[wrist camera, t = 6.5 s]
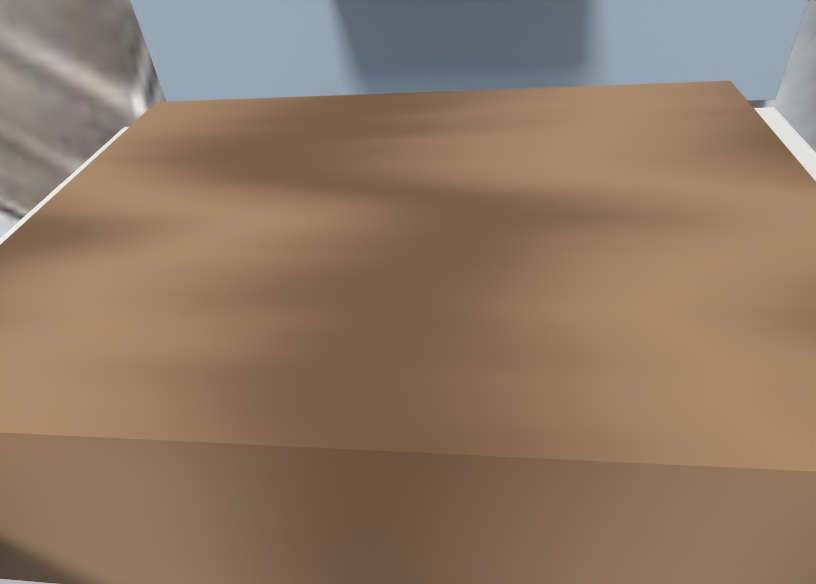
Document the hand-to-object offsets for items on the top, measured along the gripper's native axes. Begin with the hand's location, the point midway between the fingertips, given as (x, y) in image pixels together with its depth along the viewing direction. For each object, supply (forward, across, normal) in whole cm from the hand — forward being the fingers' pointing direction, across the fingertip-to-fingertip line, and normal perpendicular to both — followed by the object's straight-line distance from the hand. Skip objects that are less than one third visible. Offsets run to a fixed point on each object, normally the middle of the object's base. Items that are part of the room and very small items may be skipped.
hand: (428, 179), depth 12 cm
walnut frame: (0, 0, 0) cm, 0 cm away
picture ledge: (+13, 0, 0) cm, 13 cm away
